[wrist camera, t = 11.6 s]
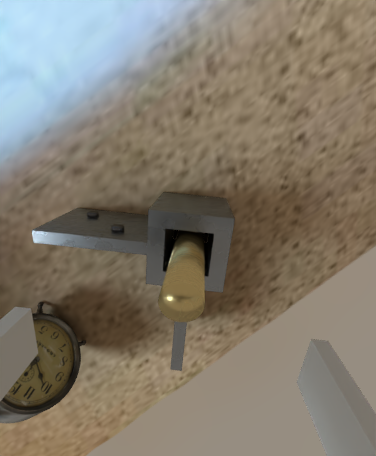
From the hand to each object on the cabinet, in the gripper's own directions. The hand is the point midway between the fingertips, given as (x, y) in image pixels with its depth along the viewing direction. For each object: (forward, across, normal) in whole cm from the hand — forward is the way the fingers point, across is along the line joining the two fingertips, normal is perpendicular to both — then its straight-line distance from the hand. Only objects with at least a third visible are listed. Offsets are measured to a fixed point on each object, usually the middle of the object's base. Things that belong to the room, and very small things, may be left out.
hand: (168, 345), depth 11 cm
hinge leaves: (+18, -5, -5) cm, 19 cm away
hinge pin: (+18, +1, 0) cm, 18 cm away
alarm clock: (+19, -18, -18) cm, 31 cm away
